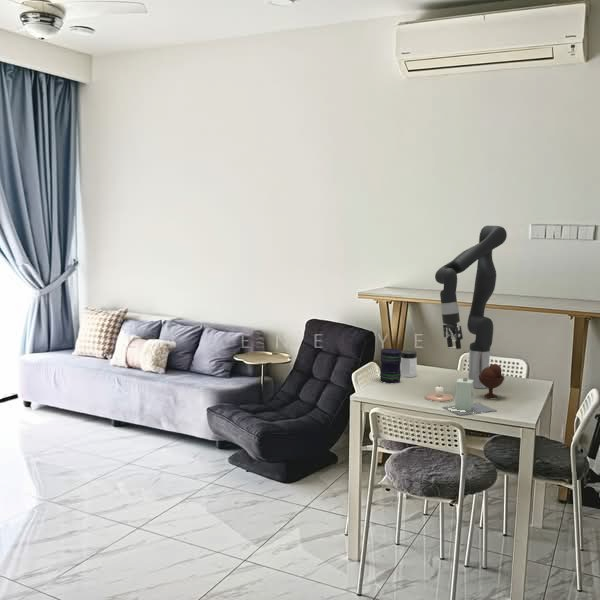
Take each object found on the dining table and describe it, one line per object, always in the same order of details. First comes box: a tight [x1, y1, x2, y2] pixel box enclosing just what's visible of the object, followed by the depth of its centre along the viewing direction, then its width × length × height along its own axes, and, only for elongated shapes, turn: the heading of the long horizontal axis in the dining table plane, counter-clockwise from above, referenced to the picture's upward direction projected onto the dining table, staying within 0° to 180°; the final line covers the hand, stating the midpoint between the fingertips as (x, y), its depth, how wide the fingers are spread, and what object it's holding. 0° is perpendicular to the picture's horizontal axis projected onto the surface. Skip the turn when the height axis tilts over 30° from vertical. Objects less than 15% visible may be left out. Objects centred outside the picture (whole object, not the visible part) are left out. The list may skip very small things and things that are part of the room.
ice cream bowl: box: [479, 363, 505, 399], centre depth 298 cm, size 11×11×15 cm
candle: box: [434, 384, 444, 397], centre depth 295 cm, size 3×3×5 cm
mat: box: [443, 402, 497, 417], centre depth 279 cm, size 18×12×1 cm, turn 113°
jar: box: [400, 349, 418, 378], centre depth 337 cm, size 9×8×12 cm
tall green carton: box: [454, 377, 474, 411], centre depth 278 cm, size 6×6×13 cm
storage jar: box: [379, 348, 402, 384], centre depth 325 cm, size 10×10×15 cm
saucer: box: [424, 392, 454, 402], centre depth 295 cm, size 12×12×1 cm
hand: (454, 347), depth 305 cm, fingers open, 8 cm apart
